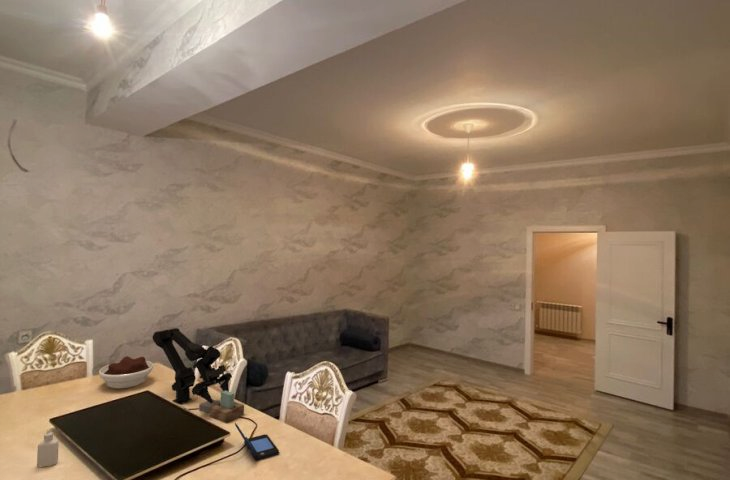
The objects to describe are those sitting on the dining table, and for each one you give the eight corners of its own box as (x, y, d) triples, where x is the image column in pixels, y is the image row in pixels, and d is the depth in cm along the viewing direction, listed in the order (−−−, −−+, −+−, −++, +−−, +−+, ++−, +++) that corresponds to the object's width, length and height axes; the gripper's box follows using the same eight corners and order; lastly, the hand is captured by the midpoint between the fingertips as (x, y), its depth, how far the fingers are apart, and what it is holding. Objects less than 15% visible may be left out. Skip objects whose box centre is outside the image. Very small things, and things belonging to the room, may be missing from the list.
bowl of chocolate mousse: (90, 386, 203) (91, 357, 203) (139, 373, 223) (140, 347, 223) (110, 398, 188) (111, 367, 188) (161, 383, 209) (162, 356, 209)
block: (220, 411, 175) (220, 392, 175) (224, 409, 177) (225, 390, 177) (229, 415, 171) (229, 395, 172) (233, 413, 174) (234, 393, 174)
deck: (199, 410, 178) (199, 404, 178) (211, 405, 184) (212, 399, 184) (210, 415, 174) (210, 408, 174) (223, 409, 180) (223, 403, 180)
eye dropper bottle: (47, 459, 136) (48, 425, 136) (60, 462, 135) (61, 428, 135) (34, 466, 132) (35, 431, 132) (47, 469, 131) (48, 434, 131)
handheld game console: (279, 455, 144) (280, 430, 144) (244, 465, 137) (245, 439, 137) (266, 436, 158) (267, 414, 158) (233, 445, 150) (234, 421, 150)
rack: (209, 416, 172) (209, 406, 172) (227, 408, 181) (227, 399, 181) (226, 423, 167) (226, 413, 167) (243, 414, 176) (244, 404, 176)
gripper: (196, 366, 171) (212, 396, 165) (230, 355, 187) (245, 383, 182) (184, 379, 175) (199, 410, 169) (218, 368, 191) (233, 396, 185)
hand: (220, 399), depth 176 cm, fingers open, 9 cm apart
